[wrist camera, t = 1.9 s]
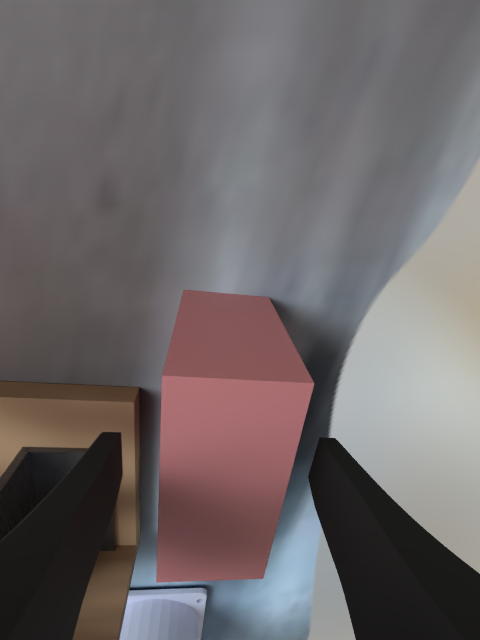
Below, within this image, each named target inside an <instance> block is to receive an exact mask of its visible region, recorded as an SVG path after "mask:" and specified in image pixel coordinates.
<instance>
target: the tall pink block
mask: <svg viewBox="0 0 480 640" xmlns="http://www.w3.org/2000/svg"><path fill="white" fill-rule="evenodd" d="M313 387H314V382H313V380H312V378H311V376H310V374H309V372H308V370H307V369H306V367H305V365H304V363H303V361H302V359H301V357H300V355H299V353H298V352H297V350H296V348H295V346H294V344H293V342H292V340H291V338H290V336H289V335H288V333H287V331H286V329H285V327H284V325H283V323H282V321H281V319H280V318H279V316H278V314H277V312H276V310H275V308H274V306H273V304H272V302H271V301H270V299H269V297H259V296H248V295H237V294H225V293H214V292H203V291H192V290H184V291H183V295H182V299H181V303H180V307H179V311H178V314H177V318H176V322H175V326H174V330H173V334H172V338H171V342H170V346H169V350H168V354H167V358H166V362H165V366H164V370H163V374H162V397H161V434H160V470H159V506H158V543H157V579H156V582H182V581H210V580H238V579H263V578H264V574H265V570H266V566H267V562H268V559H269V555H270V551H271V547H272V543H273V539H274V536H275V532H276V528H277V524H278V520H279V517H280V513H281V509H282V505H283V501H284V498H285V494H286V490H287V486H288V482H289V478H290V475H291V471H292V467H293V463H294V459H295V456H296V452H297V448H298V444H299V440H300V436H301V433H302V429H303V425H304V421H305V417H306V414H307V410H308V406H309V402H310V398H311V395H312V391H313Z"/></svg>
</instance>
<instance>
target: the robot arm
mask: <svg viewBox="0 0 480 640" xmlns="http://www.w3.org/2000/svg"><path fill="white" fill-rule="evenodd" d="M122 476H123V465H122V440H121V432H102V433H101V434H99V436H98V437H97V438H96V440H95V441H94V442H93V443H92V445H91V446H90V447H89V448H88V449H87V451H86V452H85V453H84V454H83V456H82V457H81V458H80V459H79V460H78V461H77V463H76V464H75V465H74V466H73V467H72V468H71V470H70V471H69V472H68V473H67V474H66V475H65V476H64V477H63V478H62V480H61V481H60V482H59V483H58V484H57V485H56V486H55V487H54V488H53V489H52V491H51V492H50V493H49V494H48V495H47V496H46V497H45V498H44V499H43V500H42V501H41V502H40V503H39V504H38V505H37V506H36V507H35V508H34V509H33V510H32V511H31V512H30V513H29V514H28V515H27V516H26V517H25V518H24V519H23V520H22V521H21V522H20V523H19V524H18V525H17V526H16V527H15V528H14V529H13V530H12V531H11V532H9V533H8V534H7V535H6V536H5V537H4V538H3V539H2V540H1V541H0V640H73V636H74V632H75V628H76V625H77V621H78V617H79V613H80V610H81V606H82V602H83V599H84V596H85V593H86V590H87V586H88V583H89V580H90V578H91V575H92V572H93V569H94V566H95V563H96V560H97V558H98V555H99V552H100V549H101V546H102V543H103V540H104V538H105V535H106V532H107V529H108V526H109V523H110V520H111V517H112V515H113V512H114V509H115V505H116V501H117V497H118V493H119V489H120V485H121V480H122ZM308 478H309V482H310V487H311V492H312V496H313V500H314V505H315V508H316V511H317V514H318V517H319V520H320V523H321V526H322V529H323V532H324V534H325V537H326V540H327V543H328V546H329V549H330V552H331V555H332V558H333V561H334V563H335V566H336V569H337V572H338V575H339V578H340V581H341V585H342V588H343V591H344V594H345V599H346V602H347V606H348V610H349V614H350V618H351V622H352V626H353V629H354V634H355V638H356V640H480V574H479V573H478V572H476V571H475V570H474V569H473V568H471V567H470V566H469V565H468V564H466V563H465V562H464V561H462V560H461V559H460V558H459V557H457V556H456V555H455V554H454V553H452V552H451V551H450V550H449V549H447V548H446V547H445V546H444V545H443V544H441V543H440V542H439V541H438V540H437V539H435V538H434V537H433V536H432V535H431V534H430V533H428V532H427V531H426V530H425V529H424V528H423V527H421V526H420V525H419V524H418V523H417V522H416V521H415V520H414V519H413V518H412V517H411V516H409V515H408V514H407V513H406V512H405V511H404V510H403V509H402V508H401V507H400V506H399V505H398V504H397V503H396V502H395V501H394V500H393V499H392V498H391V497H390V496H389V495H388V494H387V493H386V492H385V491H384V490H383V489H382V488H381V487H380V486H379V485H378V484H377V483H376V482H375V481H374V480H373V479H372V478H371V477H370V475H369V474H368V473H367V472H366V471H365V470H364V469H363V468H362V467H361V466H360V465H359V464H358V463H357V461H356V460H355V459H354V458H353V457H352V456H351V455H350V454H349V453H348V452H347V450H346V449H345V448H344V447H343V446H342V445H341V444H340V443H339V442H338V441H337V440H336V439H335V438H320V439H319V442H318V445H317V449H316V452H315V456H314V459H313V462H312V466H311V469H310V472H309V476H308ZM206 599H207V590H206V589H205V588H179V589H153V590H129V594H128V599H127V604H126V609H125V614H124V619H123V624H122V629H121V634H120V639H119V640H201V634H202V627H203V620H204V613H205V606H206Z"/></svg>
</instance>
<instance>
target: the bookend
mask: <svg viewBox="0 0 480 640" xmlns="http://www.w3.org/2000/svg"><path fill="white" fill-rule="evenodd" d="M87 449H88V448H61V447H22V448H21V449H20V451H19V452H18V454H17V455H16V456H15V458H14V459H13V461H12V462H11V463H10V465H9V466H8V468H7V469H6V470H5V472H4V473H3V474H2V476H1V477H0V541H1V540H2V539H3V538H4V537H5V536H6V535H7V534H8V533H9V532H11V531H12V530H13V529H14V528H15V527H16V526H17V525H18V524H19V523H20V522H21V521H22V520H23V519H24V518H25V517H26V516H27V515H28V514H29V513H30V512H31V511H32V510H33V509H34V508H35V507H36V506H37V505H38V504H39V503H40V502H41V501H42V500H43V499H44V498H45V497H46V496H47V495H48V494H49V493H50V492H51V491H52V489H53V488H54V487H55V486H56V485H57V484H58V483H59V482H60V481H61V480H62V478H63V477H64V476H65V475H66V474H67V473H68V472H69V471H70V470H71V468H72V467H73V466H74V465H75V464H76V463H77V461H78V460H79V459H80V458H81V457H82V456H83V454H84V453H85V452H86V451H87ZM115 548H116V535H115V518H114V512H113V515H112V517H111V520H110V523H109V526H108V529H107V532H106V535H105V538H104V540H103V543H102V546H101V549H100V551H115Z"/></svg>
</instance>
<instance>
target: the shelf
mask: <svg viewBox="0 0 480 640" xmlns="http://www.w3.org/2000/svg"><path fill="white" fill-rule="evenodd" d="M102 432H121V440H122V465H123V476H122V480H121V485H120V489H119V493H118V497H117V501H116V505H115V509H114V518H115V535H116V548H115V551H100V552H99V555H98V558H97V560H96V563H95V566H94V569H93V572H92V575H91V578H90V580H89V583H88V586H87V590H86V593H85V596H84V599H83V602H82V606H81V610H80V613H79V617H78V621H77V625H76V628H75V632H74V636H73V640H119V639H120V634H121V629H122V624H123V619H124V614H125V609H126V604H127V599H128V594H129V589H130V584H131V579H132V574H133V569H134V564H135V559H136V554H137V549H138V544H139V539H140V430H139V387H117V386H96V385H74V384H52V383H31V382H9V381H0V477H1V476H2V474H3V473H4V472H5V470H6V469H7V468H8V466H9V465H10V463H11V462H12V461H13V459H14V458H15V456H16V455H17V454H18V452H19V451H20V449H21V448H22V447H61V448H89V447H90V446H91V445H92V443H93V442H94V441H95V440H96V438H97V437H98V436H99V434H101V433H102Z"/></svg>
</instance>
